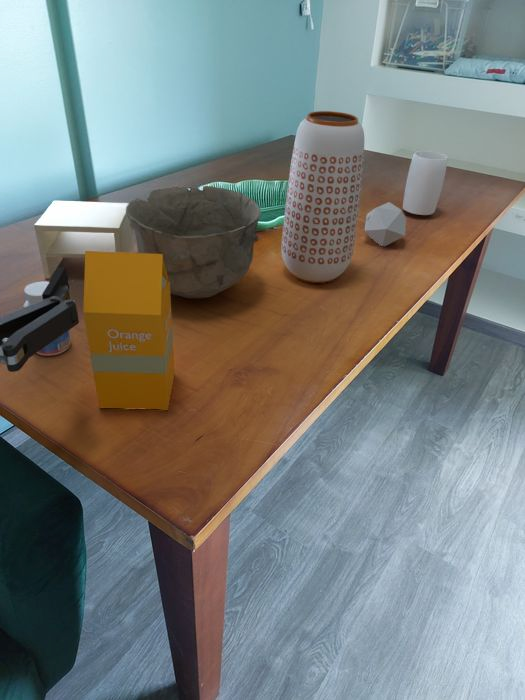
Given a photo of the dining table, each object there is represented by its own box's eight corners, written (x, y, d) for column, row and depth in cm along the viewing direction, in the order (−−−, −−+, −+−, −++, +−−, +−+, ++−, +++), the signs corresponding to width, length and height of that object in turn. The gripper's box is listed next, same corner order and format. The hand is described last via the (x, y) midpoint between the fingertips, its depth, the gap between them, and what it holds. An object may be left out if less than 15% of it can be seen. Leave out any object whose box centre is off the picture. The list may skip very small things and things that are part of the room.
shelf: (44, 278, 95) (34, 225, 89) (62, 250, 105) (53, 200, 99) (124, 280, 96) (118, 227, 90) (134, 252, 106) (130, 203, 100)
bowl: (237, 256, 107) (240, 181, 98) (275, 310, 90) (281, 226, 81) (125, 267, 100) (117, 188, 92) (143, 328, 84) (135, 238, 75)
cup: (393, 210, 133) (404, 151, 125) (419, 206, 137) (432, 149, 129) (415, 222, 127) (429, 161, 119) (442, 217, 131) (457, 158, 123)
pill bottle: (31, 339, 80) (18, 280, 74) (69, 333, 81) (59, 276, 76) (33, 360, 75) (18, 299, 70) (73, 353, 77) (62, 294, 72)
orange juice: (111, 372, 74) (92, 236, 63) (175, 374, 74) (168, 240, 63) (98, 409, 68) (74, 266, 56) (168, 411, 68) (159, 270, 57)
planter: (297, 294, 95) (313, 127, 79) (268, 262, 105) (278, 108, 89) (361, 284, 100) (390, 124, 83) (328, 254, 110) (348, 106, 93)
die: (376, 233, 122) (358, 201, 116) (415, 221, 117) (398, 187, 111) (373, 260, 117) (354, 227, 111) (413, 249, 113) (395, 214, 106)
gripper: (-229, 428, 45) (-100, 302, 62) (74, 429, 46) (117, 306, 64) (-276, 355, 41) (-123, 242, 58) (59, 359, 42) (110, 248, 60)
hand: (3, 275), depth 61 cm, fingers open, 13 cm apart
